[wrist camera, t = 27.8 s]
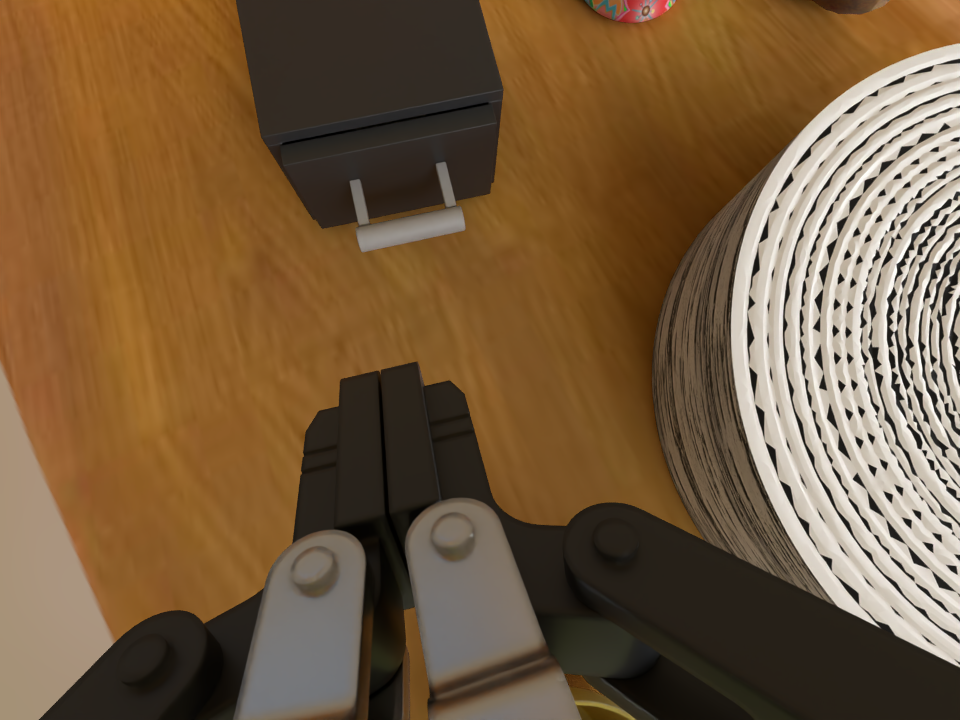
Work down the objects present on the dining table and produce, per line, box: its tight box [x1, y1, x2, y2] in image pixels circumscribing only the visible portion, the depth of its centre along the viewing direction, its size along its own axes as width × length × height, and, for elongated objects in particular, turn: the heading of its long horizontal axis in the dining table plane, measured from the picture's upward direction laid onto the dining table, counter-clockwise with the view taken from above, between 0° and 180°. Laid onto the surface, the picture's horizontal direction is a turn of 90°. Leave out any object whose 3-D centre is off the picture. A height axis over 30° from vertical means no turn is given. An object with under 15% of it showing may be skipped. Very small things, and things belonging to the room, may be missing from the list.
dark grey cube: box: [236, 0, 503, 220], centre depth 34 cm, size 15×13×10 cm
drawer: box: [280, 104, 497, 252], centre depth 33 cm, size 18×11×8 cm, turn 13°
